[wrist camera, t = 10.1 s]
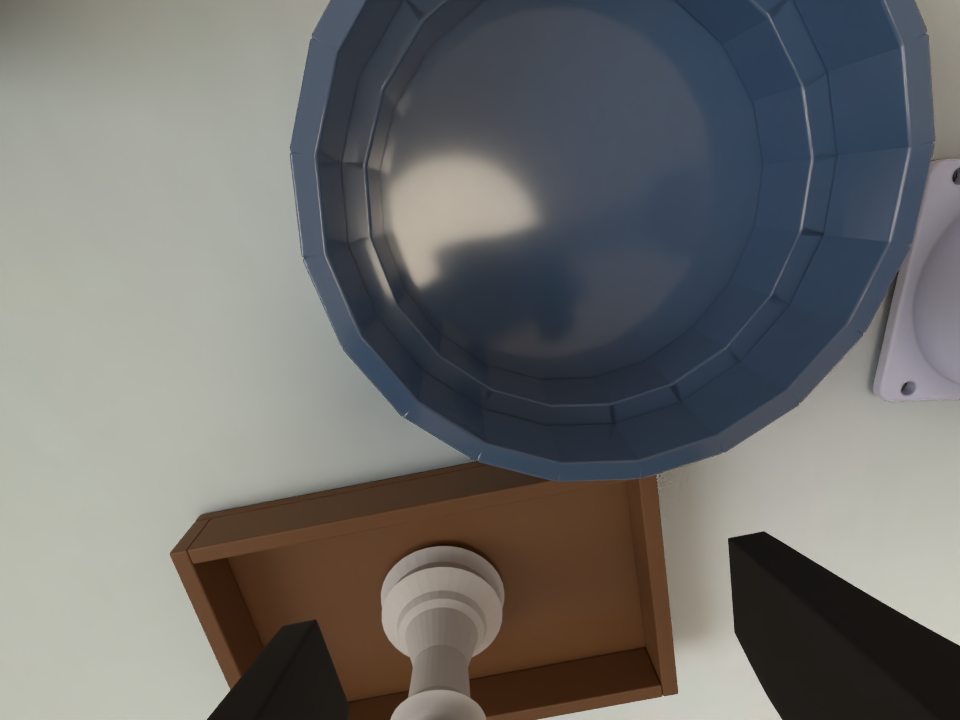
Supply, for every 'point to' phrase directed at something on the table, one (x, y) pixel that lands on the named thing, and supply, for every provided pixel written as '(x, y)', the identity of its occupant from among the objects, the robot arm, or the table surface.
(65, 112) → the table surface
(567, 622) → the tray
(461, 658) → the chess piece
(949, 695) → the robot arm
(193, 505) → the table surface
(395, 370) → the bowl
